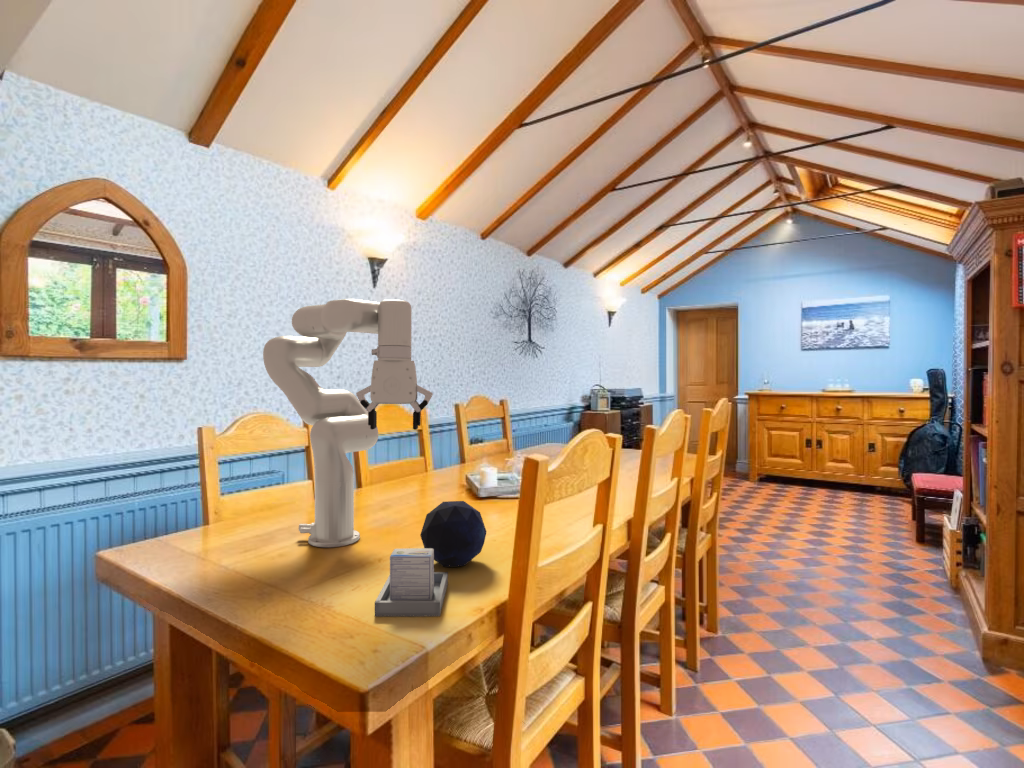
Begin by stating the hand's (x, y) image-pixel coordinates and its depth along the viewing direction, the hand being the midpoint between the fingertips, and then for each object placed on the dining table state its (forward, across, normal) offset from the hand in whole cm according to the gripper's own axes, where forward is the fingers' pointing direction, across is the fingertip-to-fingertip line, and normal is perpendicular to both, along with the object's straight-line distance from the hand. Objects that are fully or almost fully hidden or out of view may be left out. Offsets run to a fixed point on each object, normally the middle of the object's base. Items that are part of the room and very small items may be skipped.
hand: (394, 428), depth 126 cm
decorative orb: (+31, +14, -3) cm, 34 cm away
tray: (+30, +8, -22) cm, 38 cm away
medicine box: (+30, +8, -22) cm, 38 cm away
